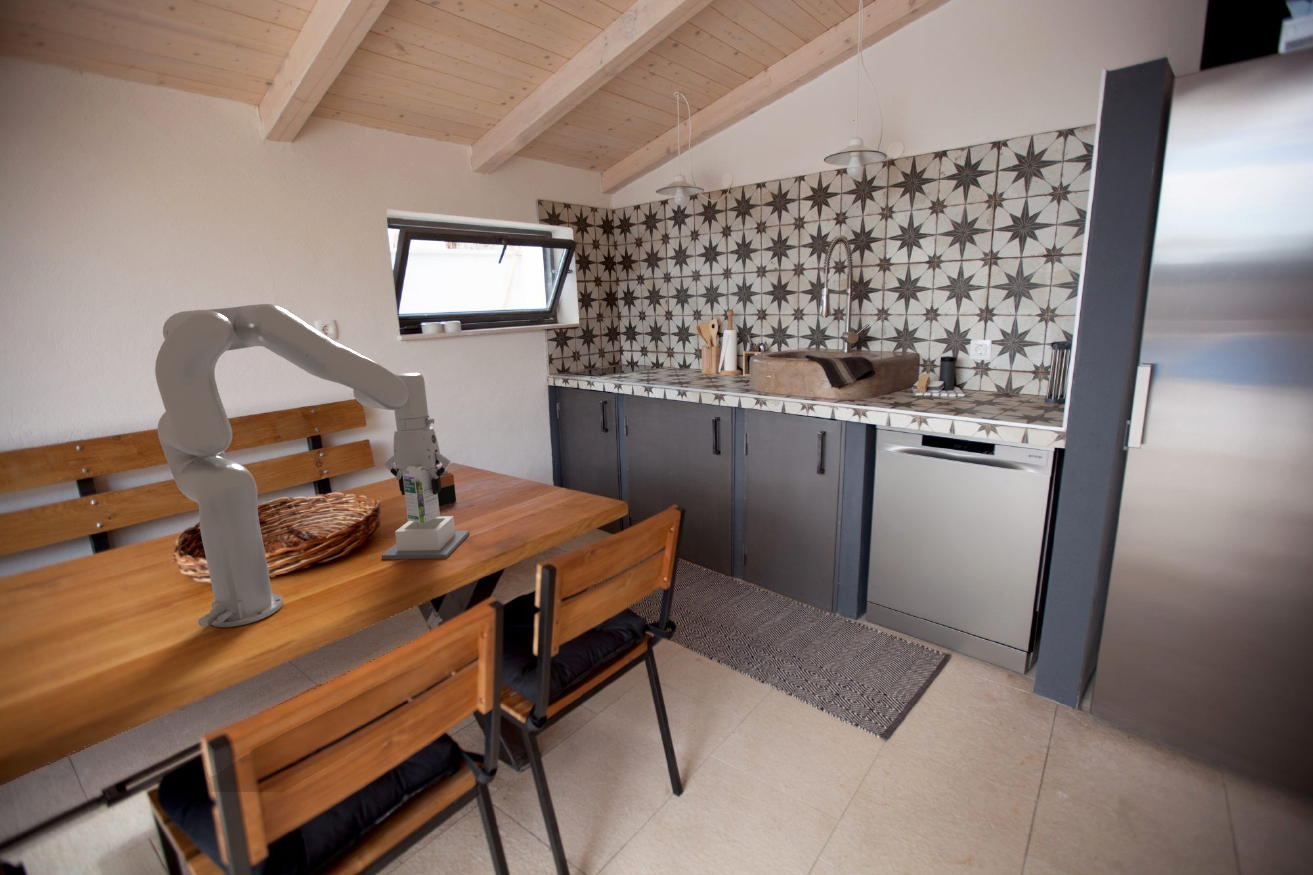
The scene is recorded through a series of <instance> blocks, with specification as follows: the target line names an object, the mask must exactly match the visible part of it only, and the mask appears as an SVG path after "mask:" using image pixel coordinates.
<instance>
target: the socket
mask: <svg viewBox="0 0 1313 875" xmlns="http://www.w3.org/2000/svg"><path fill="white" fill-rule="evenodd" d="M454 517H455V516H453V515H451V516H450V515H449V516H445V515H444V516H441V515H440V517H437V518H435V519H433V520H430V521H428V522H425V523H420V522H415V521H408V520H407V522H406V523H404V524H403V525H401V526H400V527H399V528H398V529H397V530H395V531H394V533H395V534H394V536H395V541H396V543H394V545H392V546H391V547H390V548H389V549H387V550H386V551H385V552H384V553H382V555H381V559H382V560H409V559H411V560H412V559H413V560H417V559H420V560H421V559H425V560H427V559H431V560H432V559H447V558H448V557H450V555H452V553H453V552H454V551H455V550H456V549H458V548H457V547H459V546H460V545H461V544H462V542H464V541H465V540H466V538H467V537H468V536H469V535H470V530H469V529H468V530H456V527H455V518H454Z"/></svg>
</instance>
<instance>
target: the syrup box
mask: <svg viewBox="0 0 1313 875" xmlns="http://www.w3.org/2000/svg"><path fill="white" fill-rule="evenodd" d="M432 479H433V477H432V475H431V474H430V472H429V471H428V470H425V469H423V467H422V465H420V466H408V467H407V469H406V470H403V482H404V491H405V495H404V498H405V506H406V517H407V522H408V521H415V522H420V523H425V522H428V521H430V520H433V519H435V518H437V517H440V516H441V514H440V506H439V503H438V493H437V494H436V495H434V494H433V492H432V483H431V480H432Z"/></svg>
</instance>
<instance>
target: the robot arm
mask: <svg viewBox="0 0 1313 875" xmlns="http://www.w3.org/2000/svg"><path fill="white" fill-rule="evenodd" d="M162 336H163V338H164V341H162V344H161V346H160V347H159V350H158V353H157V355H156V360H155V364H154V365H155V366H154V372H155V373H154V374H155V379H156V384H157V387H158V388H157V389H158V391H159V394H160V397H161V400H162V404H163V407H164V410H165V411H164V413H162V415H161V417H160V418H159V420H158V423H157V436H158V441H159V443H160V445H161V448H162V451H163V453H164V456H165V459H166V462H167V464H168V467H169V470H170V473H171V475H172V477H173V480H174V481H175V484H176V485H177V486H176V487H177V488H178V490H179V491H180V492H181V493H182V494H183V495H184V496H185V497H186V498H188V499H190V500H191V501H193V502H195V503H197V505H198V512H199V514H198V515H199V529H200V536H201V540H202V546H203V549H204V554H205V559H206V563H207V568H208V574H209V580H210V584H211V588H212V589H211V590H212V593H213V599H214V601H213V602H211V608H212V609H210V611H209V612H208V613H206V614H205V615H203V616H201V617H200V618H199V619H198V621H197V622H198V623H197V624H198V625H199V626H200V627H203V628H206V627H208V626H210V625H211V626H214V627H216V628H233V627H234V628H235V627H238V626H239V627H240V626H243V625H244V626H245V625H249V624H251V623H254V622H258V621H260V620H263V619H265V618H267V617H269V616H271V615H273V614H274V613H276V612H278V610H280V609H281V608H282V606H283V605H284V600H283V597H282V596H281V595H280V594H278V593H275V592H273V589H272V584H271V579H270V572H269V567H268V562H267V558H266V557H267V556H266V552H265V551H266V550H265V546H264V540H263V536H262V530H261V525H260V519H259V509H258V486H257V483H256V480H255V477H254V476H253V474H252V473H251V471H249V469H248V468H246V467H245V466H244V465H242V464H240V463H237V462H235V461H233V460H230V459H228V458H227V456H226V455H227V454H226V453H225V451H227V449H228V448H229V447H230V445H231V443H232V441H233V429H232V426H231V423H230V420H229V418H228V416H227V412H226V409H225V407H224V404H223V401H222V398H221V396H220V393H219V390H218V385H217V382H216V376H215V369H216V365H217V363H218V361H219V359H220V358H221V356H222V355H223V354H224V353H225V352H227V351H235V350H241V349H247V348H253V347H263V348H265V349H267V350H269V351H270V352H272V353H274V354H275V355H277V356H279V357H281V358H283V359H285V360H286V361H288V362H290V363H292V364H293V365H295V366H297V367H298V368H300V369H301V370H302V371H305V372H307V373H308V374H310V375H312V376H315V377H318V378H319V379H322V380H325V381H327V382H328V381H329V382H333V383H335V384H336V383H337V384H340V385H341V386H345V387H347V388H350V389H352V392H353V393H352V394H353V396H354V399H355V400H356V401H357V402H358V403H359V404H361V405H362V406H364V407H367V408H371V409H373V408H374V409H379V410H380V409H382V410H385V411H386V410H387V411H394V418H395V419H394V420H395V426H396V430H394V432H393V433H394V435H393V455H392V456H391V457H390V458H389V459H388V460H386V462H385V463H384V466H385V467H386V469H387V470H389V472H390V473H391V474H392V475H393V476H394V477H395V479H396V480H397V481H398V486H399V491H400V493H401V496H405V491H404V482H403V470H406V469H407V467H408V466H420V465H422V467H423V469H425V470H428V471H429V472H430V474H431V475H432V477H433V479H432V480H431V483H432V492H433V494H434V495H436V494H437V493H439V492H440V490H441V479H440V476H441V475H442V474H443V473H444V472H445V471H447V469H448V467H449V466H450V464H451V460H450V459H448V458H447V457H446V456H444V455H442V454H441V452H440V447H439V442H438V437H437V434H436V432H435V429H434V427H432V426H431V425H434V424H435V419H434V418H431V417H430V415H429V411H428V410H429V409H428V402H427V401H428V400H427V391H426V384H425V378H424V376H423V374H422V373H419V372H401V373H396V374H395V373H393V372H392V371H390V370H389V369H387V368H386V367H384V366H383V365H381V364H380V363H377V362H376V361H373V360H372V359H370V358H368V357H366V356H364V355H362V354H360V353H358V352H356V351H354V350H352V349H350V348H348V347H346V346H345V345H343V344H340V343H338V342H337V341H335V340H333V339H331V338H329V336H326V335H325V334H323V333H322V332H321V331H319V330H317V329H315V328H314V327H313V326H311V325H310V324H308V323H306V322H305V321H303V319H300V318H299V317H298V316H296V315H294V314H292V313H291V312H289V311H288V310H287V309H285V308H283V307H281V306H278V305H276V304H272V303H259V304H249V305H240V306H235V307H234V306H232V307H224V308H214V309H213V308H212V309H196V310H195V309H194V310H184V311H179V312H177V313H174V314H173V315H170V316H169V317H168V318H167V320H166V321H165V322H164V324H163V327H162ZM440 464H442V465H441V466H440V467H439V466H438V465H440Z"/></svg>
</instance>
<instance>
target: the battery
mask: <svg viewBox="0 0 1313 875" xmlns="http://www.w3.org/2000/svg"><path fill="white" fill-rule="evenodd" d="M454 476H455V475H454V473H451V472H449V471H448V470H445V472H444V473H443V474H442V475H441V476H440V479H441V490H440V492H439V493H438V503H439V507H441V506H445V505H448V504H452V503H455V502H457V496H456V495H457V494H456V487H455V486H456V485H455V478H454Z"/></svg>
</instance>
